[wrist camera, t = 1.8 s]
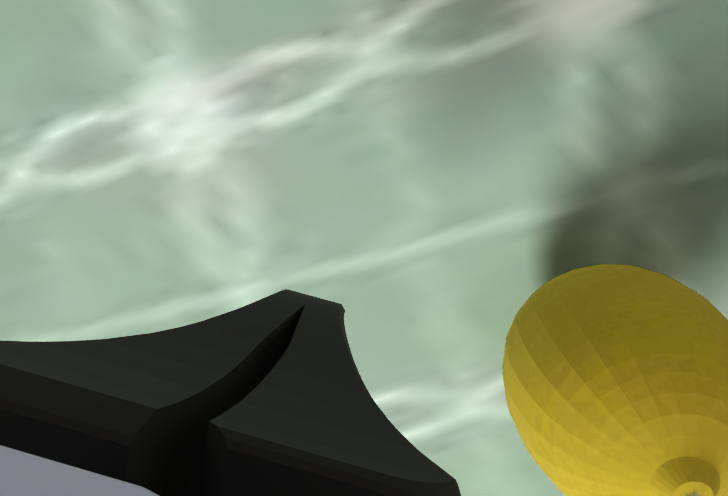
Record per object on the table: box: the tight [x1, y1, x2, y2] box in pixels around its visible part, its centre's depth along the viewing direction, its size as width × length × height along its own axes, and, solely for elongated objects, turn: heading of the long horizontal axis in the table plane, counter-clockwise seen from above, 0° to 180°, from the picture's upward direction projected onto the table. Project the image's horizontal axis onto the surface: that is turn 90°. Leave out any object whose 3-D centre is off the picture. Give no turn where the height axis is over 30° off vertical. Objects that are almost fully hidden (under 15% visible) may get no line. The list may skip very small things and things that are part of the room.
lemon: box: [502, 264, 728, 496], centre depth 13 cm, size 6×6×8 cm
